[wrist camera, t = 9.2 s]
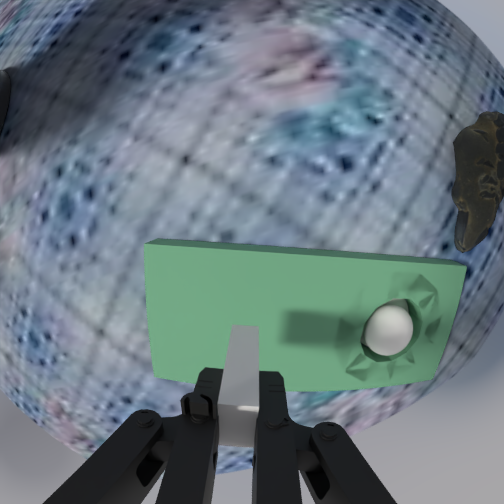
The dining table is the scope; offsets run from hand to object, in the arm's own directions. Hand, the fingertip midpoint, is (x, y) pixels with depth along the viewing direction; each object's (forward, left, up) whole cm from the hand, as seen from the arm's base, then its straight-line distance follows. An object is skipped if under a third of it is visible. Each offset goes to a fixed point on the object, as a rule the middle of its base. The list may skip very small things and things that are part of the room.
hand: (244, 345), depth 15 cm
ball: (0, +11, -3) cm, 11 cm away
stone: (-12, +19, -6) cm, 24 cm away
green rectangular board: (+1, +5, -6) cm, 8 cm away
